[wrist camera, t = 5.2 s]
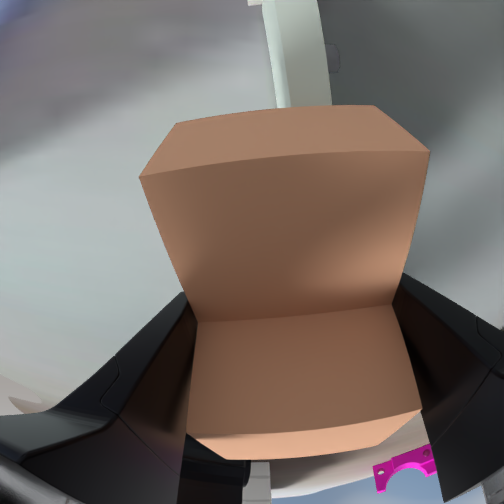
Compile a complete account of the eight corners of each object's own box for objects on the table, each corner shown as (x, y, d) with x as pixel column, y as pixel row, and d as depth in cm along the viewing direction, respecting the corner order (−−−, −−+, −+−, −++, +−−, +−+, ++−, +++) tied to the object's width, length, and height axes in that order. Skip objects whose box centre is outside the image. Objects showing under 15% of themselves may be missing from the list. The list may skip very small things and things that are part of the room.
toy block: (432, 441, 48) (439, 467, 42) (429, 448, 51) (436, 472, 45) (371, 463, 51) (376, 490, 45) (373, 468, 54) (377, 493, 48)
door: (328, 327, 25) (346, 404, 19) (298, 331, 26) (308, 409, 19) (306, 6, 13) (341, -43, 6) (260, 9, 13) (265, -43, 6)
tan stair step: (350, 310, 14) (377, 445, 9) (232, 321, 15) (226, 459, 10) (373, 105, 8) (533, 273, 3) (176, 123, 8) (63, 321, 3)
